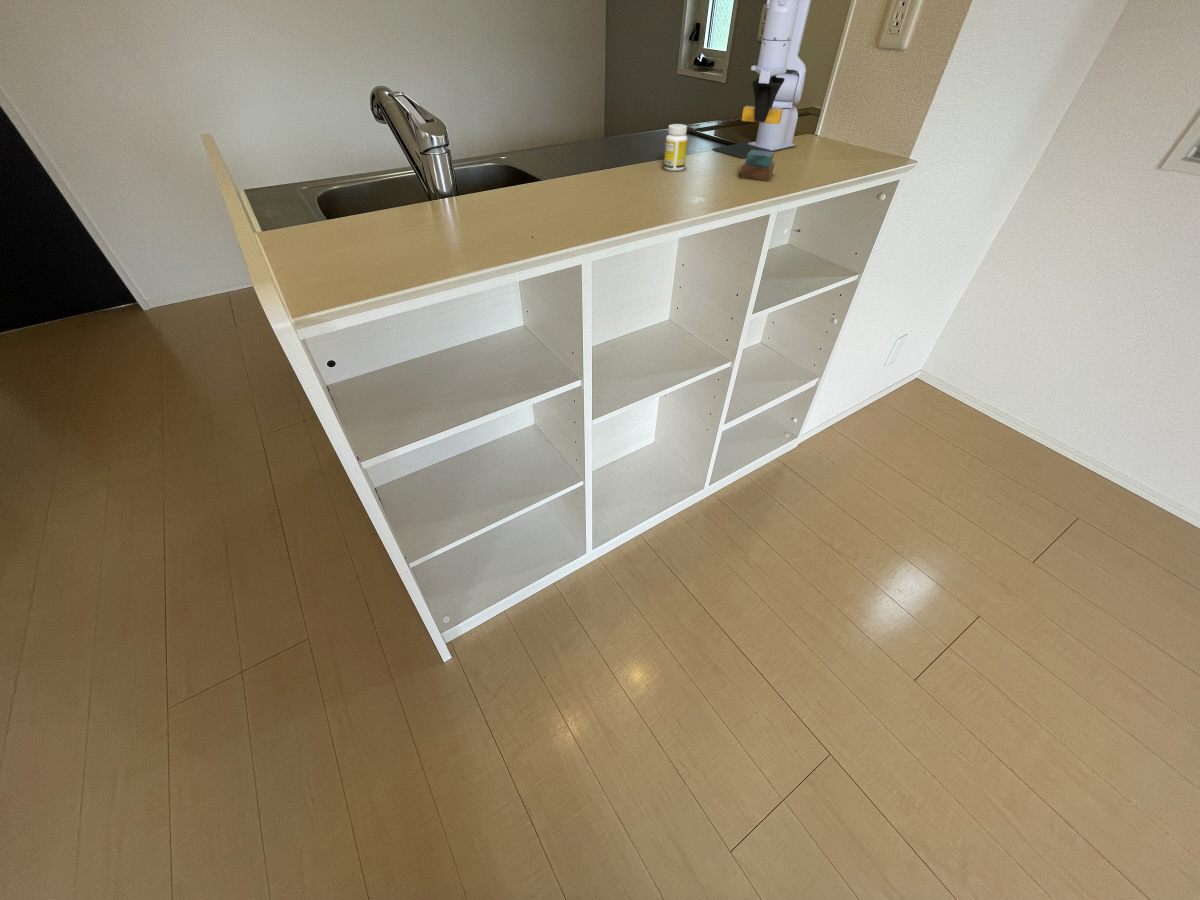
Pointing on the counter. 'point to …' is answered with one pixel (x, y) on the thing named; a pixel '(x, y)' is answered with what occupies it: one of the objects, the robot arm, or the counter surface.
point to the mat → (740, 149)
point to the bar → (772, 116)
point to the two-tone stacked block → (758, 165)
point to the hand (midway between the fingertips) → (761, 119)
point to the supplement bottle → (675, 147)
